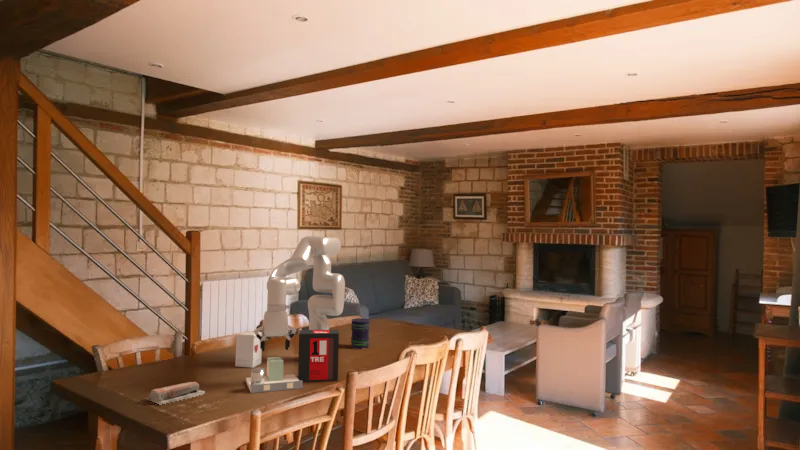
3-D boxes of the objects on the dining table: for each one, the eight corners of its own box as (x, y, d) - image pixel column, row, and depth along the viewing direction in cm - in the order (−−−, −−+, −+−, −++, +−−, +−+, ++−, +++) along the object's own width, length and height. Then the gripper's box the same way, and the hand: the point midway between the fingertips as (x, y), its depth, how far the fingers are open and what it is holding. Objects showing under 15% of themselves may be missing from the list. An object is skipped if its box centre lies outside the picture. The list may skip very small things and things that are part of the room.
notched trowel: (160, 393, 188) (145, 388, 194) (160, 407, 188) (145, 401, 194) (205, 382, 203) (190, 378, 209) (205, 395, 203) (190, 390, 209)
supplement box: (252, 368, 242) (253, 335, 242) (234, 366, 244) (235, 334, 244) (262, 363, 251) (262, 331, 251) (244, 362, 252) (245, 330, 253)
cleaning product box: (297, 382, 222) (299, 334, 222) (298, 376, 230) (299, 330, 231) (337, 381, 224) (338, 333, 225) (336, 375, 233) (337, 329, 233)
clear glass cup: (263, 383, 214) (263, 367, 214) (265, 386, 209) (265, 370, 209) (249, 384, 212) (250, 368, 212) (251, 388, 207) (251, 371, 207)
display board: (294, 377, 228) (294, 370, 228) (302, 388, 213) (302, 381, 213) (246, 381, 221) (246, 374, 221) (250, 393, 205) (251, 385, 205)
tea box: (266, 376, 223) (267, 357, 223) (280, 375, 225) (280, 356, 225) (269, 381, 216) (269, 361, 216) (283, 380, 218) (283, 360, 219)
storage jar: (372, 347, 291) (373, 319, 291) (361, 350, 283) (362, 322, 283) (358, 344, 296) (358, 317, 297) (347, 347, 288) (347, 320, 288)
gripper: (295, 306, 228) (293, 347, 227) (253, 307, 221) (252, 349, 220) (298, 309, 221) (297, 350, 220) (256, 310, 214) (254, 352, 213)
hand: (274, 349), depth 220 cm, fingers open, 9 cm apart
